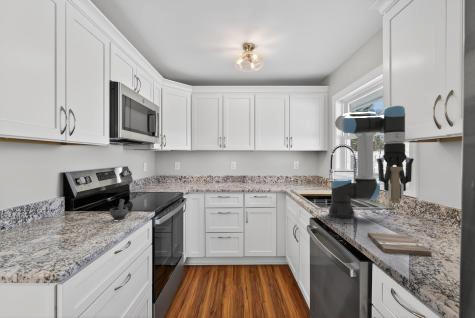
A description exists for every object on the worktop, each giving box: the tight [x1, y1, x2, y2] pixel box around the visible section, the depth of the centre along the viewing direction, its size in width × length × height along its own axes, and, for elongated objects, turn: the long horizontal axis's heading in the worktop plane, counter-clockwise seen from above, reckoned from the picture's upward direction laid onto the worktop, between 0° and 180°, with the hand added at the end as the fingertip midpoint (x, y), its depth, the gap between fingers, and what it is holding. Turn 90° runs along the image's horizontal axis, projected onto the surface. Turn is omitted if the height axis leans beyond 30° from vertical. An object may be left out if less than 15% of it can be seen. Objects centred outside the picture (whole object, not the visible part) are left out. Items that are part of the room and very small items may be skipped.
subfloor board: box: [367, 231, 432, 256], centre depth 101 cm, size 20×16×2 cm
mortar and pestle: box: [109, 198, 129, 221], centre depth 144 cm, size 11×9×12 cm
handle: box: [385, 166, 404, 204], centre depth 100 cm, size 5×6×15 cm
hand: (394, 198), depth 100 cm, fingers closed on handle, 4 cm apart
